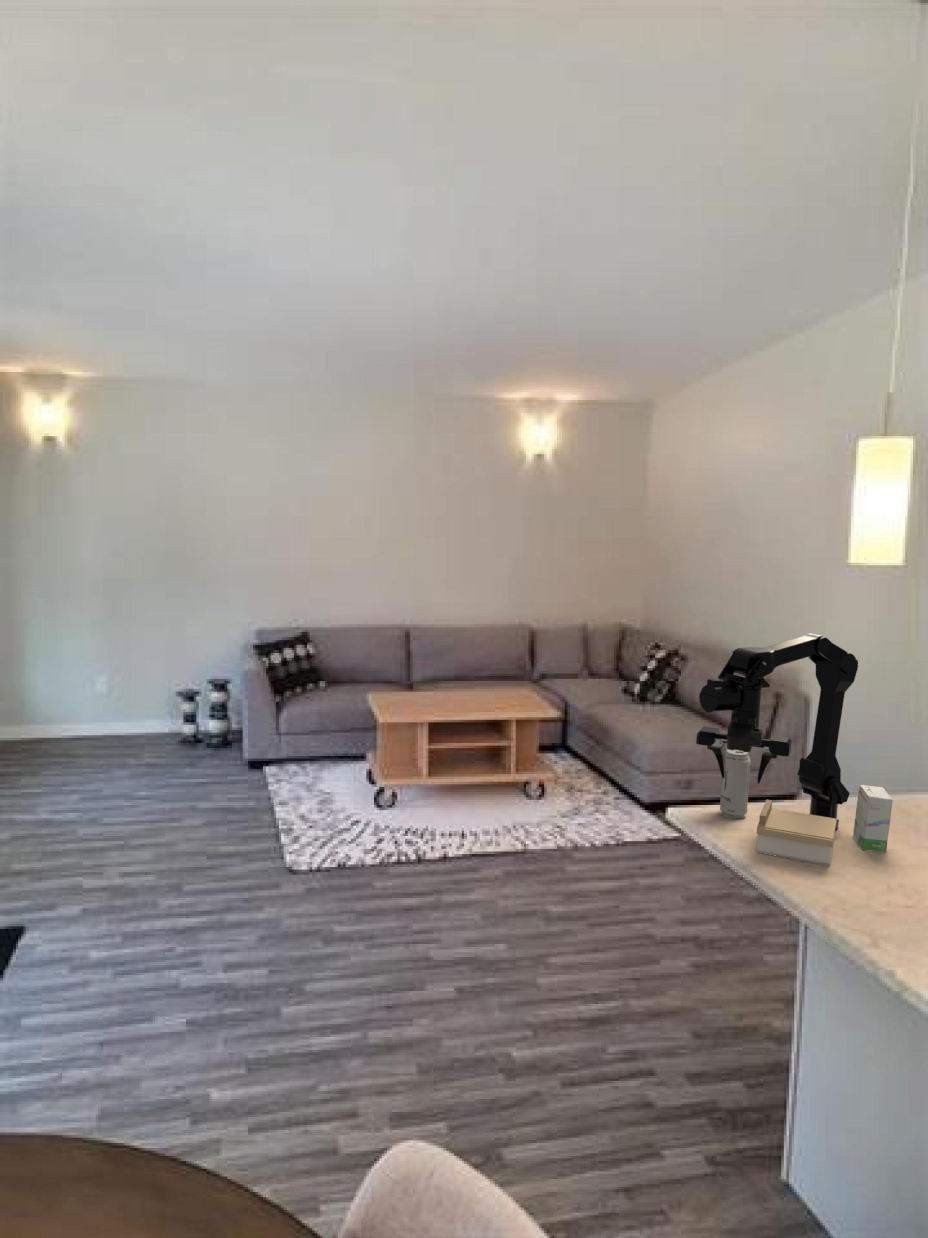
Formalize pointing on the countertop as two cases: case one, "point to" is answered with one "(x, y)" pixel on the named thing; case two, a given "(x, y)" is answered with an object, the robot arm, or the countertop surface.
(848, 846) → the countertop surface
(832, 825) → the lid
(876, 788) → the ink box
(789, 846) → the mailer box
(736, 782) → the energy drink can
